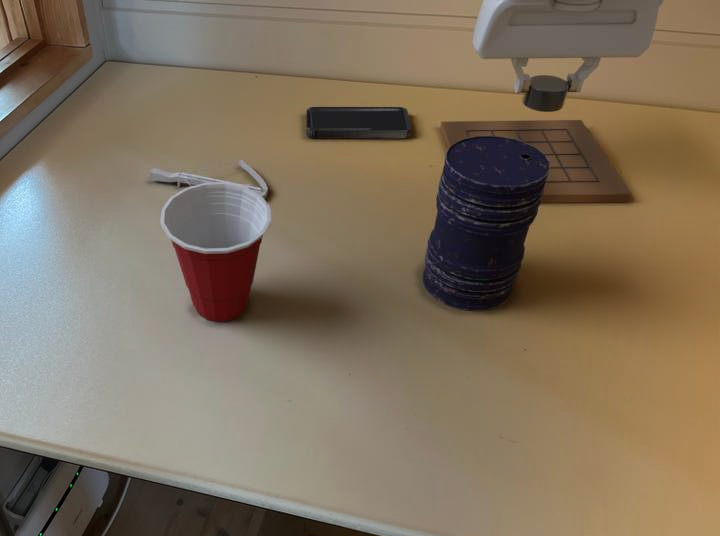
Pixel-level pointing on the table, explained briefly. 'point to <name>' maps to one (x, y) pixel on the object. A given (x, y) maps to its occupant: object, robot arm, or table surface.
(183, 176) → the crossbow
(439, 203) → the dark blue cylinder
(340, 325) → the table surface
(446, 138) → the board
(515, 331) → the table surface
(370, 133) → the phone
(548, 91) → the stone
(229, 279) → the plastic cup
